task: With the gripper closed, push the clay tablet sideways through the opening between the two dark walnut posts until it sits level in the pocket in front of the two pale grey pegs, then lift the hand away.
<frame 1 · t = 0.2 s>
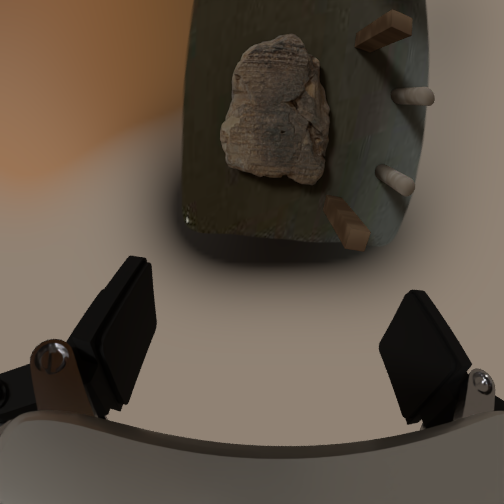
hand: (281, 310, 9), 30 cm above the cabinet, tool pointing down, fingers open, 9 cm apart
clay tablet: (279, 105, 33), on the cabinet
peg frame: (363, 125, 33), on the cabinet
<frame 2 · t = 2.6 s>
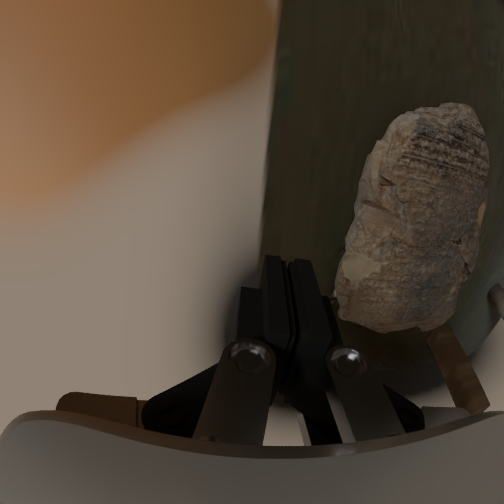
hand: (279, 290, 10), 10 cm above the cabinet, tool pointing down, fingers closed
clay tablet: (417, 216, 20), on the cabinet
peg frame: (496, 243, 20), on the cabinet
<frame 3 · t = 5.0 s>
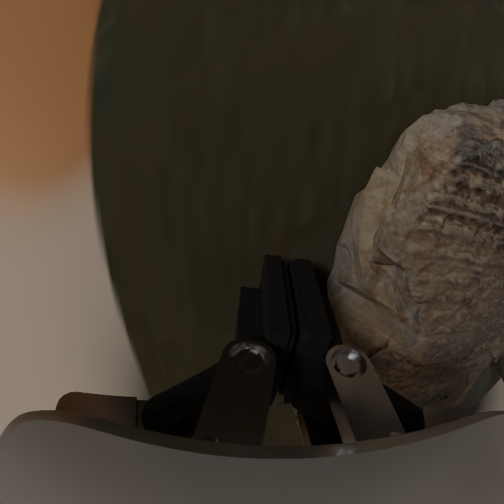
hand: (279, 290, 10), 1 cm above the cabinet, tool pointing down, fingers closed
clay tablet: (432, 286, 12), on the cabinet, touching gripper
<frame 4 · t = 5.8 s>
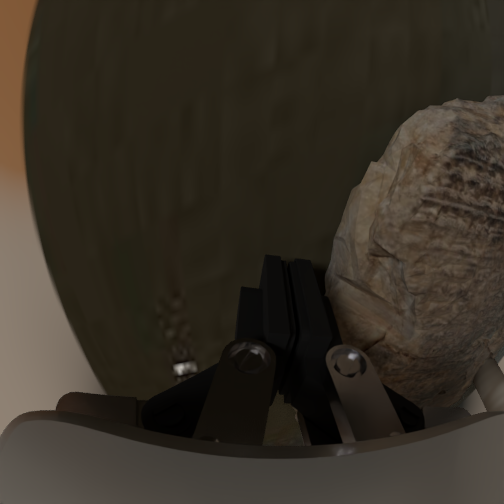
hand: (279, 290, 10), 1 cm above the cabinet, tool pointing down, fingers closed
clay tablet: (429, 281, 12), on the cabinet, touching gripper
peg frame: (482, 290, 12), on the cabinet
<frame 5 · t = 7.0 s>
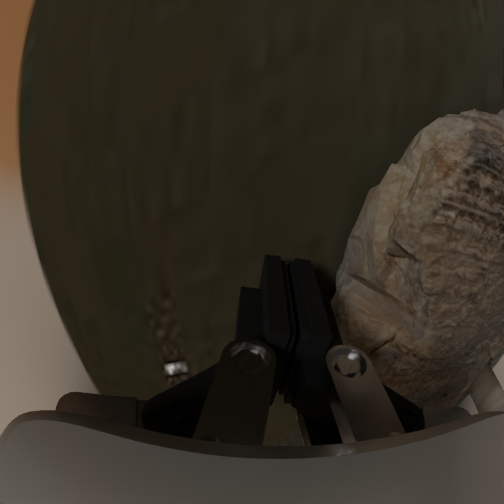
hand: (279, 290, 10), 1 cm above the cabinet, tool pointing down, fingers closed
clay tablet: (434, 286, 12), on the cabinet
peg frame: (477, 295, 12), on the cabinet
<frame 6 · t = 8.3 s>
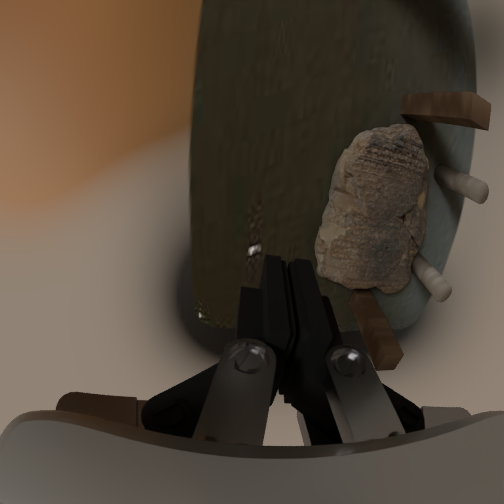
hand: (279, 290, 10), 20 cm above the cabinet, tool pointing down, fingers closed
clay tablet: (376, 204, 30), on the cabinet
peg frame: (402, 212, 29), on the cabinet
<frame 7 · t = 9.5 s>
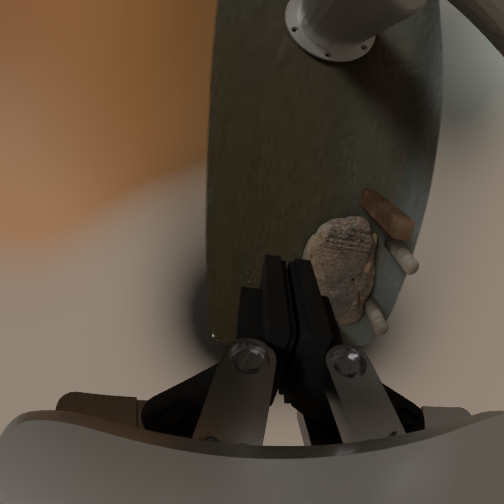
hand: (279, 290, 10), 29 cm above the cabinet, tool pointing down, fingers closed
clay tablet: (336, 265, 44), on the cabinet
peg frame: (357, 270, 44), on the cabinet
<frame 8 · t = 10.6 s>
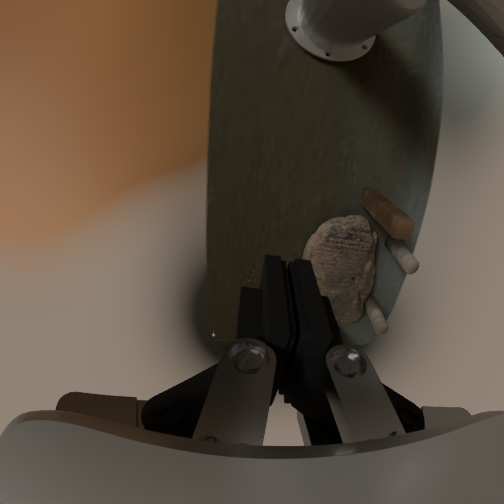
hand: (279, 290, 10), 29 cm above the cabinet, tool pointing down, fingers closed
clay tablet: (337, 264, 44), on the cabinet
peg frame: (357, 269, 44), on the cabinet
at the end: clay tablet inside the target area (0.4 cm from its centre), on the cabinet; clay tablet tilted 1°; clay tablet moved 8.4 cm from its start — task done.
